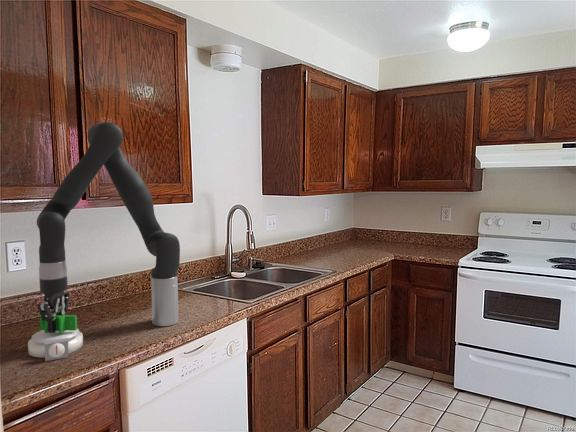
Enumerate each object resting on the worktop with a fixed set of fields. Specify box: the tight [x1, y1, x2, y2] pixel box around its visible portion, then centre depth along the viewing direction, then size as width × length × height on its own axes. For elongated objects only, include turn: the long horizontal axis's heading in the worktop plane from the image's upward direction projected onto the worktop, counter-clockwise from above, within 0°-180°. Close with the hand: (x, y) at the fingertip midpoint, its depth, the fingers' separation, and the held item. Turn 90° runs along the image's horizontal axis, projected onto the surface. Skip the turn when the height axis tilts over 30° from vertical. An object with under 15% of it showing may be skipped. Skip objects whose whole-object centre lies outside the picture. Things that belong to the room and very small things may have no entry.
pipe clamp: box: [39, 314, 78, 333], centre depth 133 cm, size 11×4×5 cm, turn 89°
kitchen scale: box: [27, 327, 84, 362], centre depth 132 cm, size 18×15×5 cm
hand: (56, 329), depth 133 cm, fingers closed on pipe clamp, 3 cm apart
